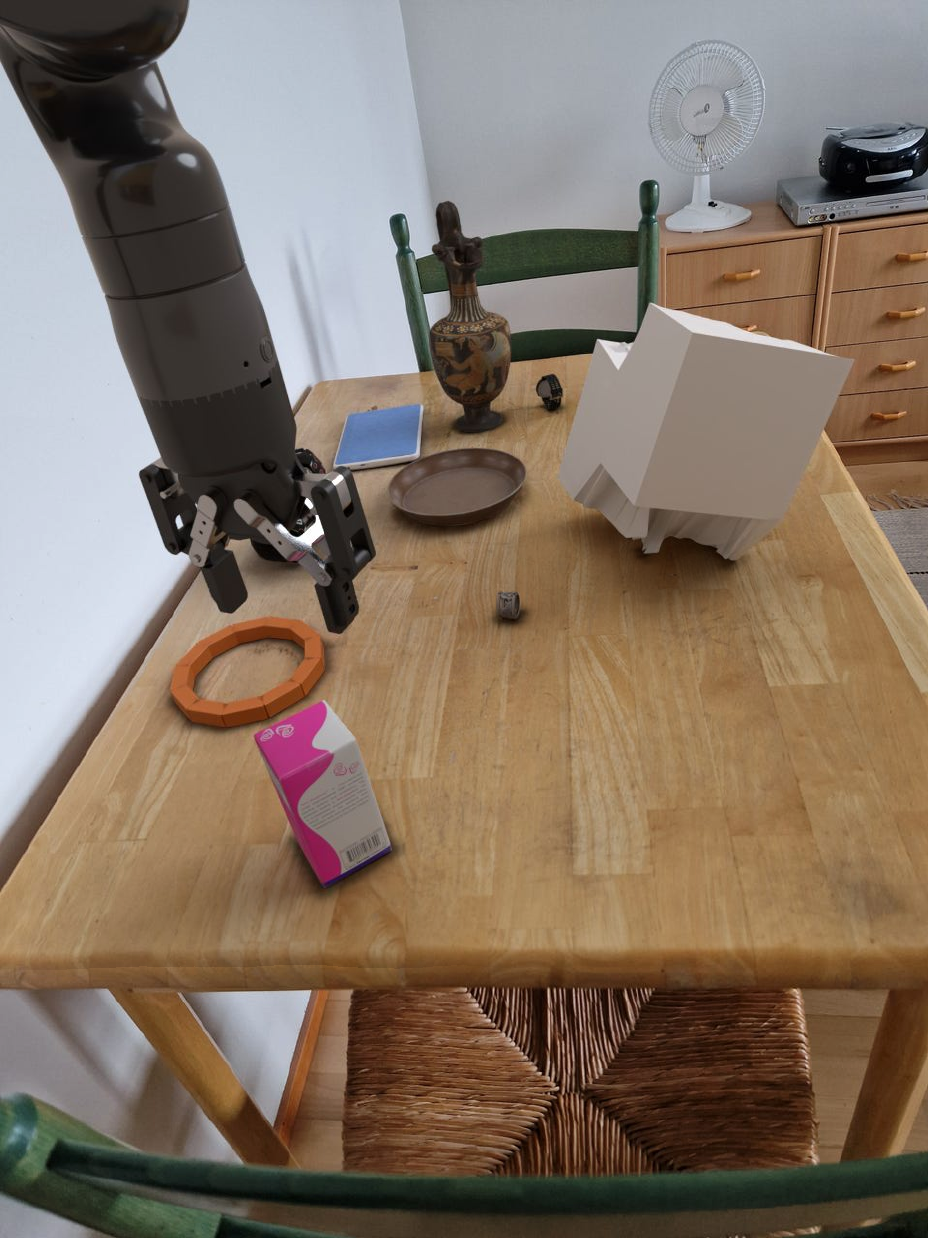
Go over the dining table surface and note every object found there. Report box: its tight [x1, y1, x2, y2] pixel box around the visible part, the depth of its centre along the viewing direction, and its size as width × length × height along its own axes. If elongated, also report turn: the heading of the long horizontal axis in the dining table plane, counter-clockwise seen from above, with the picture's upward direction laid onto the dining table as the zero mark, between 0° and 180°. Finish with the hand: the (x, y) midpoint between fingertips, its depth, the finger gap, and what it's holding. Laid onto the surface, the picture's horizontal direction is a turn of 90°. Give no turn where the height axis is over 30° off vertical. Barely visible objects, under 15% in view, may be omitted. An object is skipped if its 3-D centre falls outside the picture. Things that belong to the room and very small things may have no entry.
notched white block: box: [557, 302, 856, 561], centre depth 84 cm, size 20×16×25 cm
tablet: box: [332, 403, 425, 471], centre depth 125 cm, size 19×13×1 cm, turn 0°
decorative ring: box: [495, 590, 521, 620], centre depth 83 cm, size 3×2×3 cm
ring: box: [169, 616, 326, 728], centre depth 82 cm, size 15×15×2 cm
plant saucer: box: [386, 447, 528, 527], centre depth 105 cm, size 18×18×3 cm
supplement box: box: [253, 699, 393, 889], centre depth 60 cm, size 6×6×12 cm
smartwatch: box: [535, 373, 564, 411], centre depth 124 cm, size 4×5×5 cm
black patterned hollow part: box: [249, 447, 328, 566], centre depth 98 cm, size 10×15×14 cm
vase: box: [428, 200, 512, 433], centre depth 117 cm, size 12×12×30 cm
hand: (287, 615), depth 53 cm, fingers open, 8 cm apart
